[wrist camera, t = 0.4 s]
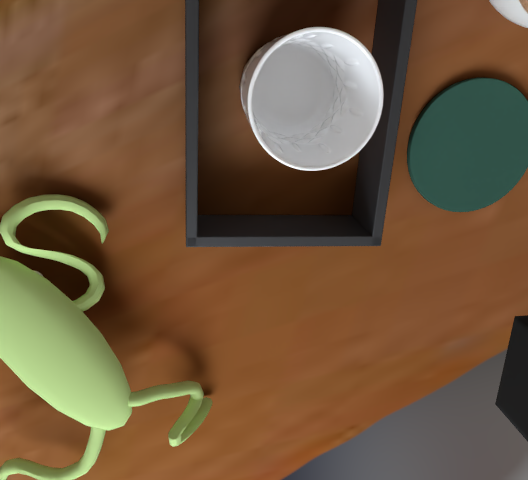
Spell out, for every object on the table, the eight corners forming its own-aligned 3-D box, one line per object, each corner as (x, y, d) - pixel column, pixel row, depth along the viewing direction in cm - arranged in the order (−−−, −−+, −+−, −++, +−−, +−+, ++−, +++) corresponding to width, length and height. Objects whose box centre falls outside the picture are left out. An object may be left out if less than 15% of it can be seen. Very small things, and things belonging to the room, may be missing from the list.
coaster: (418, 74, 38) (422, 74, 38) (546, 80, 40) (551, 81, 40) (397, 209, 42) (400, 212, 42) (514, 210, 44) (518, 212, 44)
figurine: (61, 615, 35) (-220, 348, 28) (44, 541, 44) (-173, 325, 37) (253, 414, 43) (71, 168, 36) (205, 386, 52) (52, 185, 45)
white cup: (213, 111, 37) (223, 133, 28) (263, 9, 35) (291, -3, 26) (302, 158, 40) (338, 192, 30) (354, 65, 38) (409, 72, 28)
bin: (185, -91, 32) (185, -113, 28) (397, -69, 35) (430, -87, 30) (185, 223, 40) (186, 247, 35) (359, 224, 42) (380, 246, 38)
